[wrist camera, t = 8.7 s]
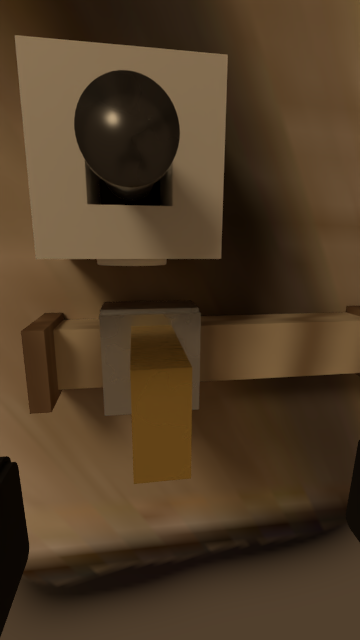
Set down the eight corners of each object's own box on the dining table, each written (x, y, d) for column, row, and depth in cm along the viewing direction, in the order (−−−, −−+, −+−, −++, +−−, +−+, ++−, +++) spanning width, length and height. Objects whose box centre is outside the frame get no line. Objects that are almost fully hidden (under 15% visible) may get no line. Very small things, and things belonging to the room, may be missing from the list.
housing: (197, 116, 21) (227, 54, 14) (194, 261, 23) (220, 266, 16) (54, 107, 20) (14, 35, 13) (66, 261, 22) (36, 267, 15)
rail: (360, 305, 26) (412, 319, 21) (352, 363, 27) (400, 389, 22) (44, 313, 22) (21, 331, 18) (51, 379, 24) (30, 413, 19)
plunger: (162, 139, 17) (180, 74, 11) (162, 208, 18) (179, 187, 12) (94, 136, 17) (70, 65, 10) (98, 207, 18) (77, 184, 11)
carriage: (190, 300, 23) (237, 343, 12) (189, 388, 24) (231, 491, 14) (104, 301, 22) (79, 349, 12) (108, 393, 23) (90, 506, 13)
